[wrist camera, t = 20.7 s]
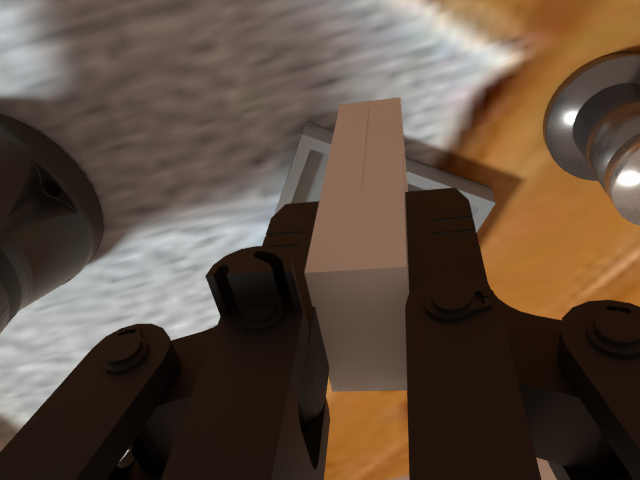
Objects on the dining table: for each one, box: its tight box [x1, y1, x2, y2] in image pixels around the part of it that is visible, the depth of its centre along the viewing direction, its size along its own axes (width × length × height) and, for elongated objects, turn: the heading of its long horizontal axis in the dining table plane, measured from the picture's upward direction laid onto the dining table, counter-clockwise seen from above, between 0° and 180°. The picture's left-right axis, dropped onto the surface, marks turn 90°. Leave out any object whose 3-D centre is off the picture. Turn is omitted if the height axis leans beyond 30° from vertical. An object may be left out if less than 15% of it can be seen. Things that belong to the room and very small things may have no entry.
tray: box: [275, 122, 496, 233], centre depth 39 cm, size 14×14×2 cm
